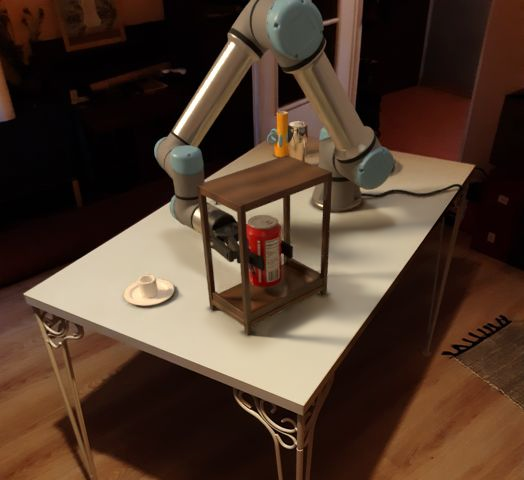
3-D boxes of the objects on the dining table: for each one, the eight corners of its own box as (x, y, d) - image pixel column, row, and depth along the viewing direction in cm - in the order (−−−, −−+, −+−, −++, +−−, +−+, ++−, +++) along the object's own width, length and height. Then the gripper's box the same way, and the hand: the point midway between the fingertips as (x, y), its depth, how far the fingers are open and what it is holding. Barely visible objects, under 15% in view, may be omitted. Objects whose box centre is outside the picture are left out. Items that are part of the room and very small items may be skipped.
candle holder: (132, 280, 141) (129, 265, 138) (179, 281, 140) (177, 266, 137) (118, 307, 132) (114, 291, 129) (168, 308, 131) (165, 293, 128)
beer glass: (286, 165, 201) (285, 121, 192) (305, 163, 201) (306, 120, 192) (288, 172, 195) (288, 127, 186) (308, 170, 196) (309, 126, 187)
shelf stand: (209, 308, 130) (196, 184, 112) (287, 272, 142) (286, 155, 124) (247, 335, 122) (240, 206, 103) (326, 294, 133) (332, 171, 115)
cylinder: (294, 161, 203) (294, 118, 194) (265, 160, 205) (264, 117, 196) (299, 149, 213) (299, 108, 204) (272, 148, 215) (271, 107, 205)
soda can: (273, 293, 126) (272, 231, 116) (241, 286, 128) (238, 225, 119) (286, 276, 131) (286, 216, 122) (256, 270, 134) (254, 210, 125)
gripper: (248, 225, 143) (311, 258, 129) (181, 252, 133) (241, 290, 119) (247, 197, 139) (312, 228, 125) (178, 222, 129) (240, 258, 115)
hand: (277, 258), depth 122 cm, fingers closed on soda can, 7 cm apart
